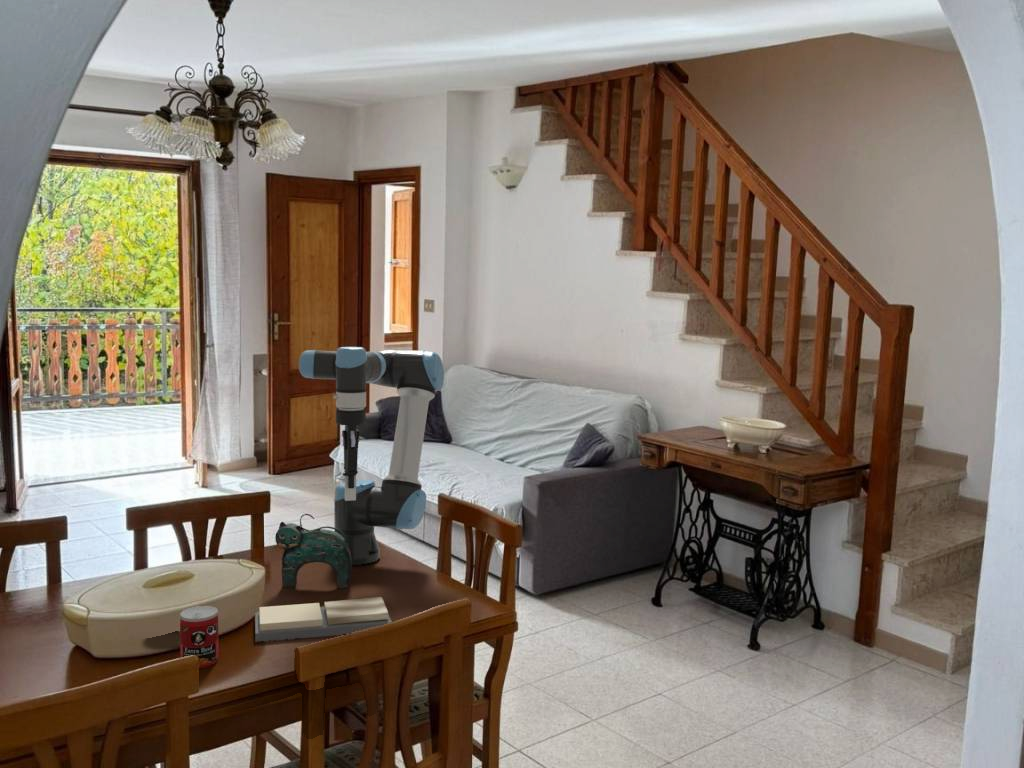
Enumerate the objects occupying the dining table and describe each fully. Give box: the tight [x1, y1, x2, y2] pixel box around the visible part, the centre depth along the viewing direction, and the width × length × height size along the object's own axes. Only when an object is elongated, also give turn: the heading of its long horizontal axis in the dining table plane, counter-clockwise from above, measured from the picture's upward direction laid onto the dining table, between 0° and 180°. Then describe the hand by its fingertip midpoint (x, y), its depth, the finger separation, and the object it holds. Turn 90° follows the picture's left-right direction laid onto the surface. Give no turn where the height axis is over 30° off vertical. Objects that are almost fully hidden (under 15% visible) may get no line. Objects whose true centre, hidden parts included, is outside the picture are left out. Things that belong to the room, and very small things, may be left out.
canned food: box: [179, 605, 219, 669], centre depth 190 cm, size 8×8×11 cm
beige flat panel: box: [323, 596, 389, 625], centre depth 214 cm, size 11×14×2 cm
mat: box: [254, 602, 393, 643], centre depth 212 cm, size 14×31×4 cm, turn 106°
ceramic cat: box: [274, 513, 353, 589], centre depth 239 cm, size 20×6×20 cm, turn 92°
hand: (350, 499), depth 227 cm, fingers closed
